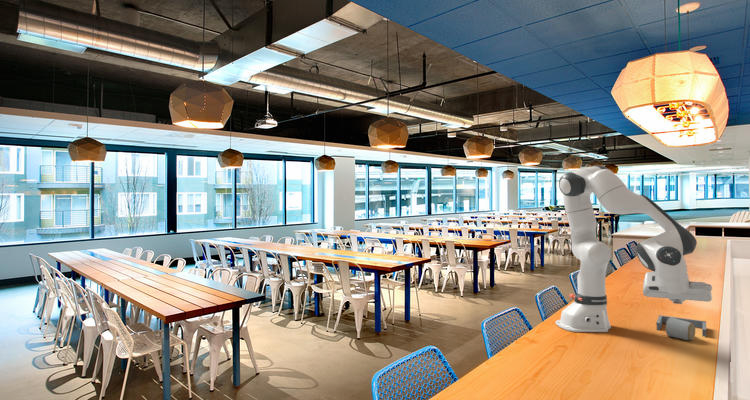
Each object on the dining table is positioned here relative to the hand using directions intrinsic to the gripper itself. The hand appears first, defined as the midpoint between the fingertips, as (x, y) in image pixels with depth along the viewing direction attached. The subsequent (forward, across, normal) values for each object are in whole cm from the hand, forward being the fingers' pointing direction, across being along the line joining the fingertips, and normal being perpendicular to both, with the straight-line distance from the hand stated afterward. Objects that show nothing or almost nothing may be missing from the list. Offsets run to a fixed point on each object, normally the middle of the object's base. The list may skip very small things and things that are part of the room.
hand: (677, 302), depth 149 cm
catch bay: (+31, +1, -6) cm, 32 cm away
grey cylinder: (+22, +1, +3) cm, 22 cm away
